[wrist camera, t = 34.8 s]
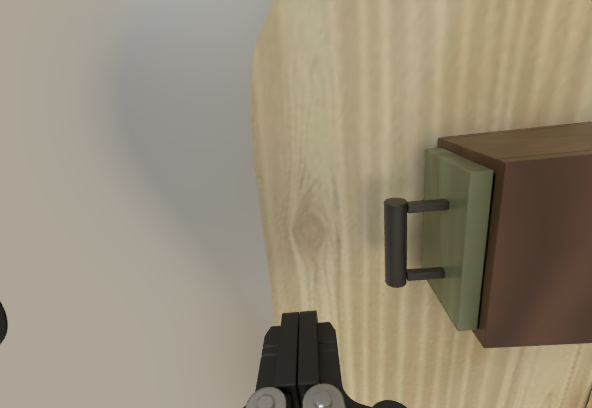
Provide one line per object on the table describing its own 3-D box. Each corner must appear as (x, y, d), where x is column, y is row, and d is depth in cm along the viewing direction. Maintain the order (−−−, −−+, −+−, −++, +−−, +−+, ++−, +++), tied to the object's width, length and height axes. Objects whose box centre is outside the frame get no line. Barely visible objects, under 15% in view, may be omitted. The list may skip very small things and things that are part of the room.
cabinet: (432, 271, 27) (483, 348, 19) (437, 137, 23) (506, 162, 15) (599, 259, 26) (730, 336, 18) (635, 116, 22) (825, 131, 14)
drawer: (374, 275, 26) (394, 334, 20) (370, 154, 23) (393, 179, 16) (580, 261, 25) (672, 319, 18) (609, 130, 21) (737, 147, 15)
